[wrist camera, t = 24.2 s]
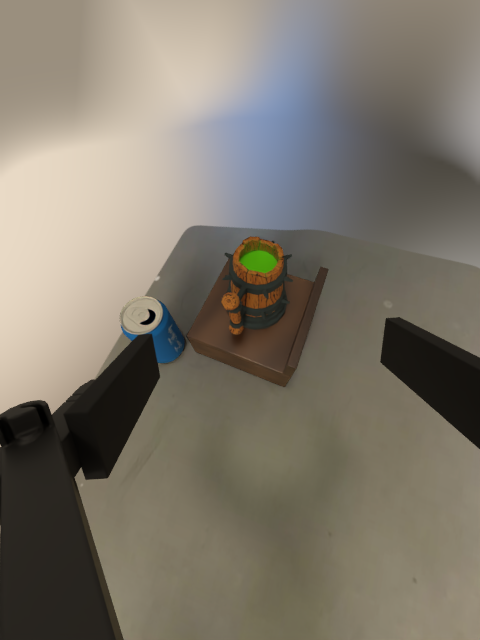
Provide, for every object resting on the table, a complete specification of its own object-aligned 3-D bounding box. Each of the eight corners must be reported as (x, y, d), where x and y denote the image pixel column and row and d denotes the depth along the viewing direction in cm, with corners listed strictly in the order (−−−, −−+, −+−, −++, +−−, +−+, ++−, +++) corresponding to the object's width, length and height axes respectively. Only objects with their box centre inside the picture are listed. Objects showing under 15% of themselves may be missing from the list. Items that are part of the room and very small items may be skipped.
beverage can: (175, 369, 42) (150, 344, 32) (141, 357, 44) (106, 327, 33) (191, 335, 45) (174, 301, 34) (159, 324, 46) (132, 288, 35)
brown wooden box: (195, 351, 44) (179, 324, 34) (232, 279, 50) (228, 239, 40) (284, 387, 41) (296, 368, 31) (311, 306, 47) (328, 268, 37)
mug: (241, 266, 43) (240, 209, 32) (298, 289, 40) (316, 236, 30) (201, 329, 38) (183, 285, 27) (263, 360, 35) (269, 324, 25)
